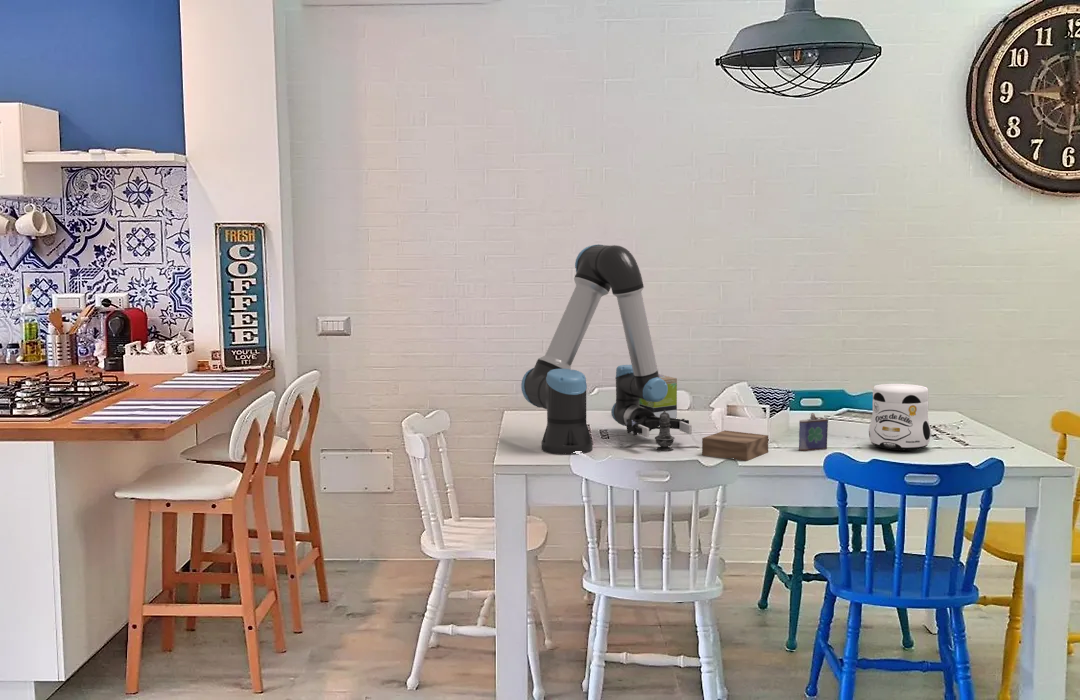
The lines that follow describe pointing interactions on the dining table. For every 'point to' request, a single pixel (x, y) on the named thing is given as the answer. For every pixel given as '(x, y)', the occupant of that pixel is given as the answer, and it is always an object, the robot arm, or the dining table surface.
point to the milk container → (900, 417)
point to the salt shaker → (664, 433)
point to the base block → (735, 445)
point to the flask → (813, 433)
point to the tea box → (668, 402)
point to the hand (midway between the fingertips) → (669, 431)
